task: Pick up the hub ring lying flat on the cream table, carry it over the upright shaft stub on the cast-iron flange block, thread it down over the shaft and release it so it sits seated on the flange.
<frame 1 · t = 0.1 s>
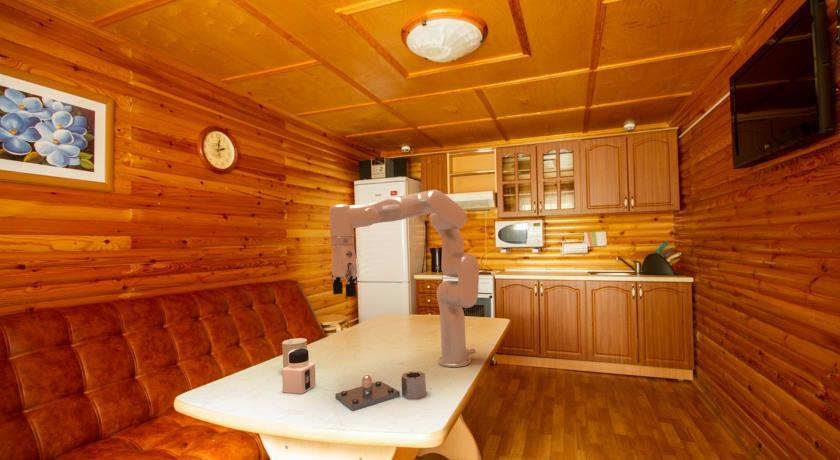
hand: (344, 295, 125), 31 cm above the table, fingers open, 9 cm apart
container: (299, 389, 129), on the table
can: (295, 371, 149), on the table
shaft block: (367, 397, 120), on the table
hub ring: (414, 394, 120), on the table
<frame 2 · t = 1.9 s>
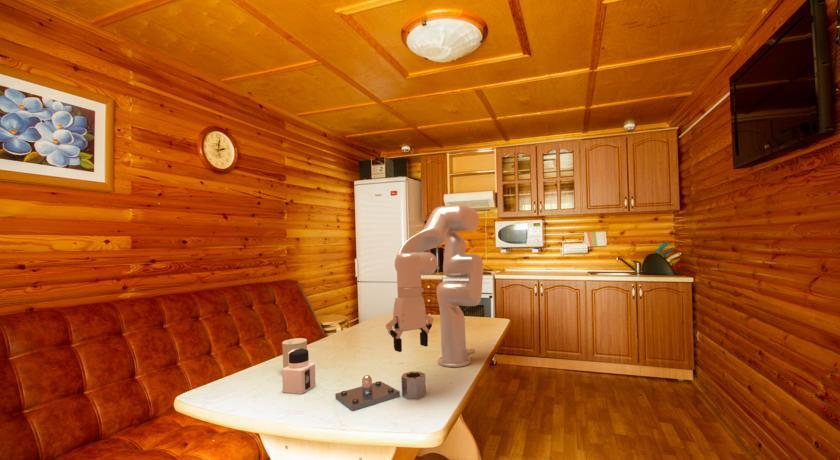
hand: (411, 348, 120), 14 cm above the table, fingers open, 9 cm apart
nothing on the table moved.
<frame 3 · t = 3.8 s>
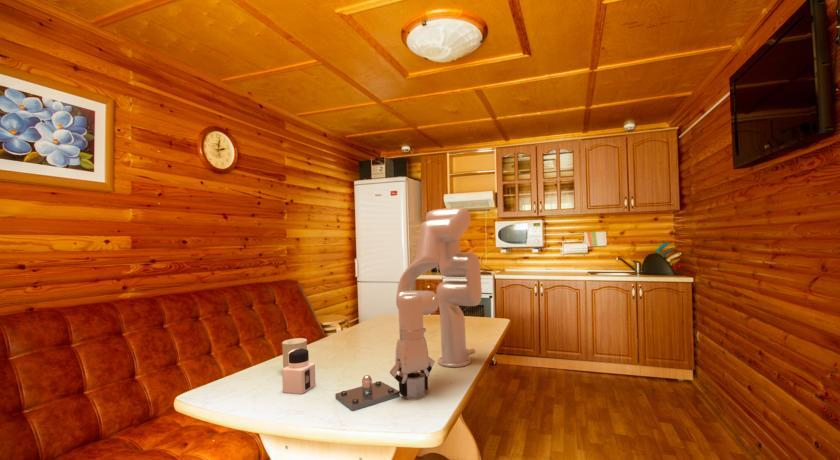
hand: (414, 391, 120), 1 cm above the table, fingers closed on hub ring, 7 cm apart
hub ring: (414, 394, 120), on the table, touching gripper
everything else where it was.
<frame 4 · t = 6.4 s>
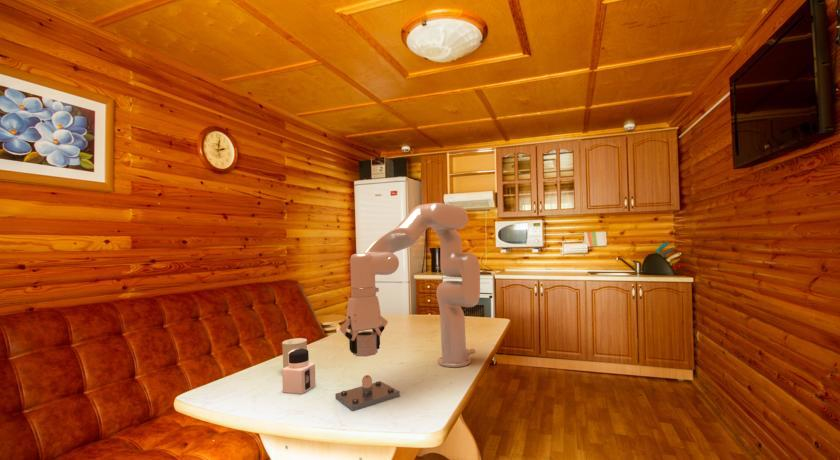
hand: (365, 350, 120), 15 cm above the table, fingers closed on hub ring, 7 cm apart
hub ring: (365, 353, 120), point 14 cm above the table, touching gripper
everything else where it was.
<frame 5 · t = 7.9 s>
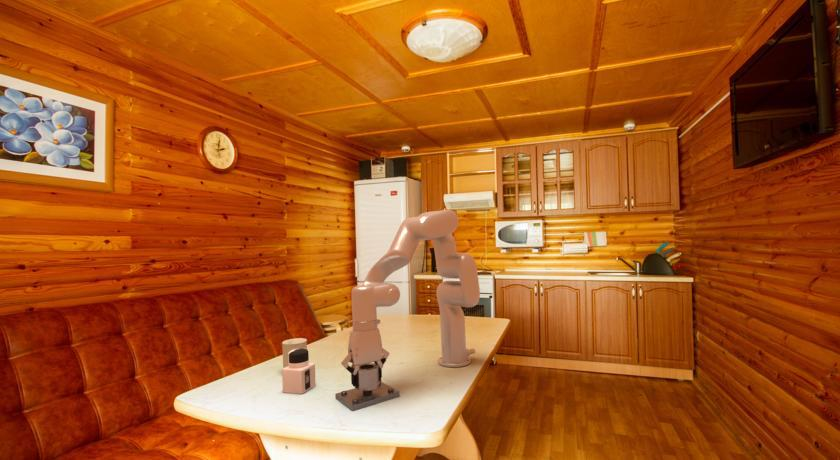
hand: (367, 383, 120), 4 cm above the table, fingers closed on hub ring, 7 cm apart
hub ring: (367, 386, 120), point 3 cm above the table, touching gripper
everything else where it was.
when the fingers open (4 cm above the table, at t = 8.9 s): hub ring drops 1 cm, resting on shaft block.
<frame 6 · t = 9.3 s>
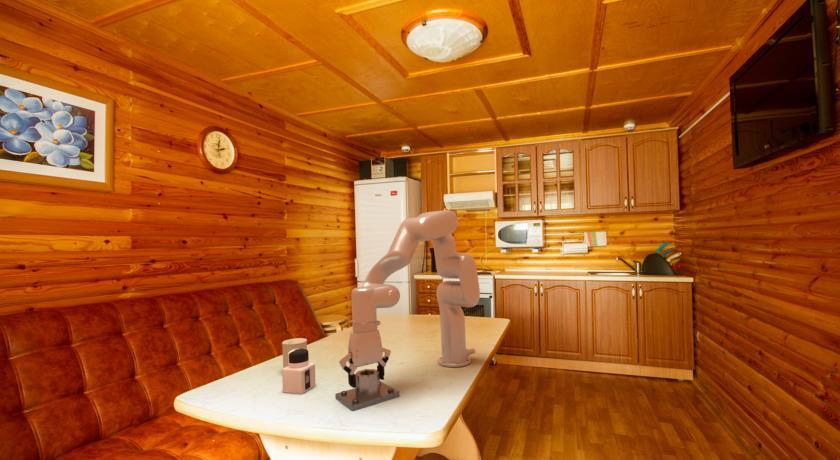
hand: (367, 382, 120), 5 cm above the table, fingers open, 9 cm apart
hub ring: (367, 392, 120), point 1 cm above the table, touching shaft block
everything else where it was.
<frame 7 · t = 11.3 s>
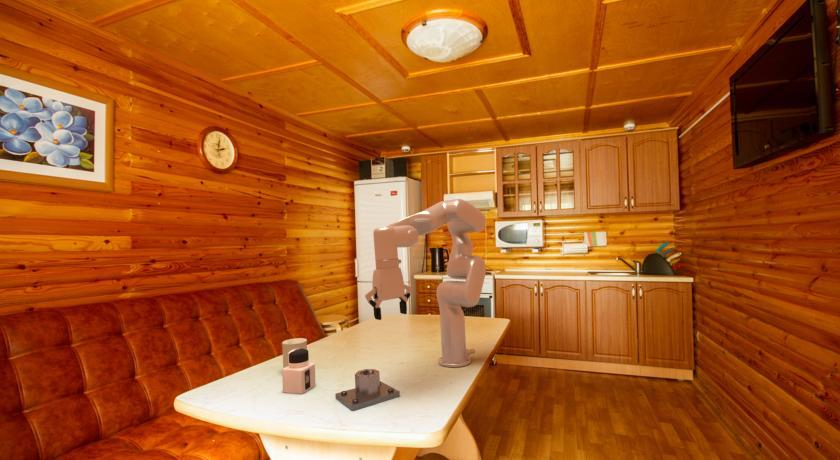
hand: (391, 316, 127), 23 cm above the table, fingers open, 9 cm apart
nothing on the table moved.
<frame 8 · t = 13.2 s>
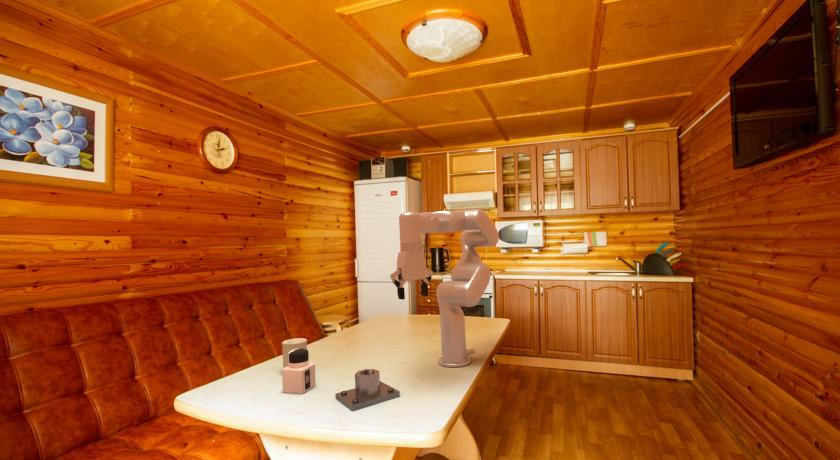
hand: (413, 297, 134), 28 cm above the table, fingers open, 9 cm apart
nothing on the table moved.
at the end: hub ring 0.2 cm off-centre on the shaft block, point 1.5 cm above the shaft block's base; hub ring tilted 0°; the gripper is holding nothing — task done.
